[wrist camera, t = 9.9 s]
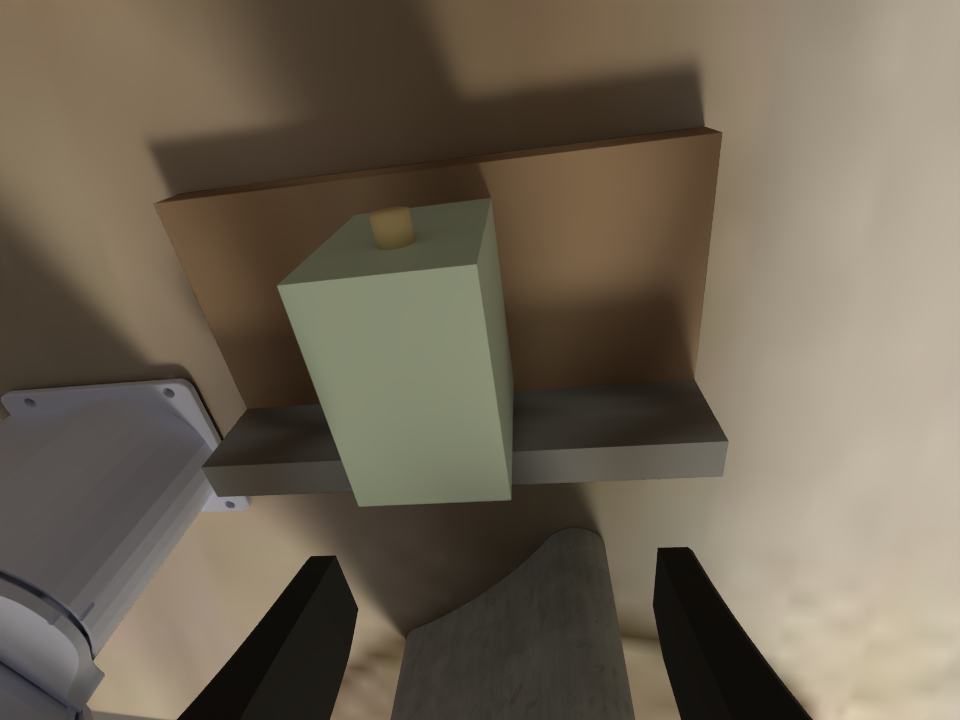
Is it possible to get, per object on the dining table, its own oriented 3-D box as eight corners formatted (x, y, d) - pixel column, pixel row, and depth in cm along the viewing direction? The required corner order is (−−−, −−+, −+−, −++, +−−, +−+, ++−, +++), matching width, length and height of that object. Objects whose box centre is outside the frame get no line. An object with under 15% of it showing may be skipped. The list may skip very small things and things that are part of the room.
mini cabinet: (401, 390, 20) (358, 506, 14) (348, 189, 16) (263, 250, 10) (513, 382, 19) (511, 500, 14) (488, 171, 15) (471, 226, 10)
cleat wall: (274, 415, 23) (217, 497, 18) (180, 193, 18) (70, 234, 13) (680, 389, 20) (722, 476, 16) (705, 126, 15) (777, 151, 11)
